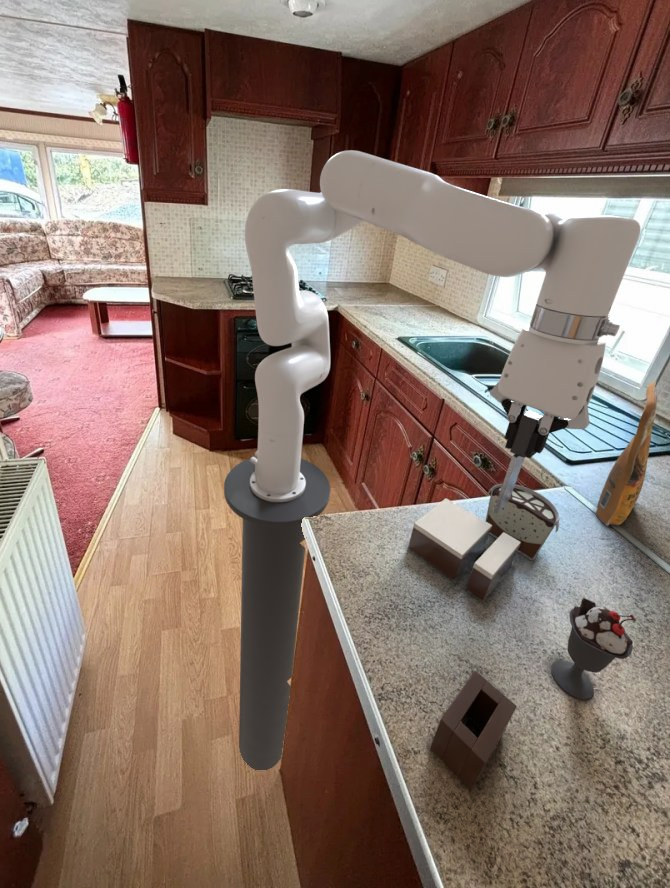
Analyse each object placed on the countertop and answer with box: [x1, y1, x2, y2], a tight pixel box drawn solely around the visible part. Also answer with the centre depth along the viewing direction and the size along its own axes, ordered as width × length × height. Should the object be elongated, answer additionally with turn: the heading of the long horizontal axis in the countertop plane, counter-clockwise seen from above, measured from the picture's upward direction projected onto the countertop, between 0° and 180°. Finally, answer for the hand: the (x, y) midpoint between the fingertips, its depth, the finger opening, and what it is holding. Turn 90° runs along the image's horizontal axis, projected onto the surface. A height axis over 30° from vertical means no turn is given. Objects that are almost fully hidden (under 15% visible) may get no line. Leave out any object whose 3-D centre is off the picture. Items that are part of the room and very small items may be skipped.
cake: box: [407, 498, 492, 582], centre depth 73 cm, size 9×11×6 cm
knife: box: [493, 409, 544, 513], centre depth 58 cm, size 2×4×16 cm, turn 131°
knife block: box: [429, 670, 518, 793], centre depth 46 cm, size 5×8×6 cm, turn 132°
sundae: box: [550, 597, 637, 700], centre depth 52 cm, size 7×7×15 cm
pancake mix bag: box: [595, 380, 658, 527], centre depth 83 cm, size 7×19×28 cm, turn 132°
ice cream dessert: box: [485, 483, 560, 561], centre depth 76 cm, size 12×6×10 cm, turn 40°
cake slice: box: [465, 532, 521, 602], centre depth 68 cm, size 3×11×6 cm, turn 132°
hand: (521, 449), depth 57 cm, fingers closed on knife, 2 cm apart
